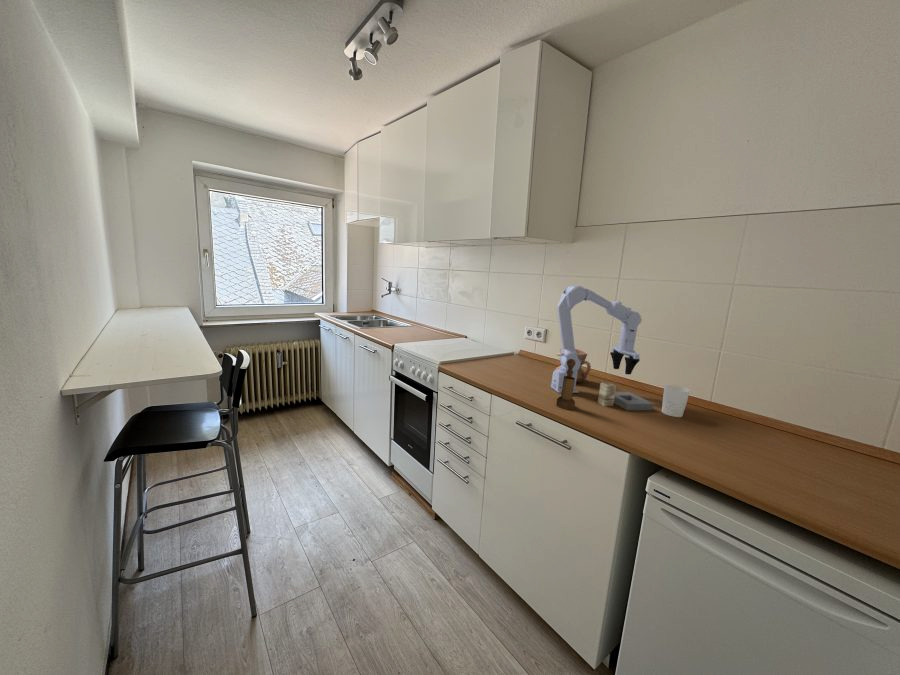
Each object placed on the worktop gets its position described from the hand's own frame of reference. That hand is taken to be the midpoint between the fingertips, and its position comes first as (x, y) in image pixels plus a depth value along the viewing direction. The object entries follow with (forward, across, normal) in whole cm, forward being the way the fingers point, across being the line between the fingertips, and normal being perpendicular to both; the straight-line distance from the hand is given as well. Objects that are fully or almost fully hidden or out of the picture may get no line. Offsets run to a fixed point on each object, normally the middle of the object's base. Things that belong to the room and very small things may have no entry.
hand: (621, 371), depth 150 cm
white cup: (+10, -21, -7) cm, 25 cm away
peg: (+10, -11, +14) cm, 20 cm away
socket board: (+10, -11, +4) cm, 15 cm away
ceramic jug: (+10, +19, +11) cm, 25 cm away
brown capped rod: (+10, -13, +32) cm, 36 cm away
